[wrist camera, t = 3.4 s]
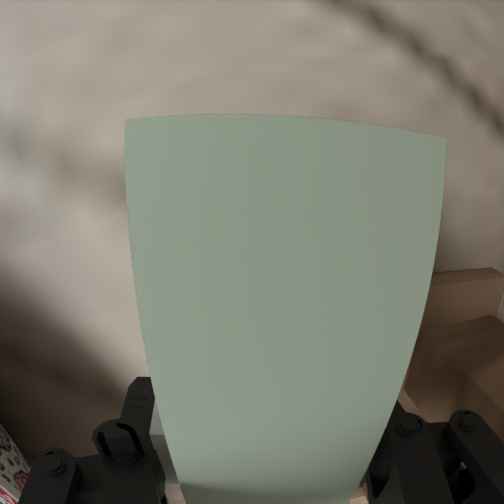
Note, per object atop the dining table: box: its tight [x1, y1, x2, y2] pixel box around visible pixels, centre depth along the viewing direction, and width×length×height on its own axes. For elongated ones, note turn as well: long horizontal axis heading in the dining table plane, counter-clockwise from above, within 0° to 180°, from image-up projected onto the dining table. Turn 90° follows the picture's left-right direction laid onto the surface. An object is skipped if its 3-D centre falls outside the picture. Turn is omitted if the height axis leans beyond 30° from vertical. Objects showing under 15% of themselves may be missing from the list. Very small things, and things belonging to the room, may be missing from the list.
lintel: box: [125, 114, 446, 504], centre depth 10 cm, size 16×4×9 cm, turn 179°
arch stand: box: [351, 268, 504, 503], centre depth 14 cm, size 20×7×10 cm, turn 179°
